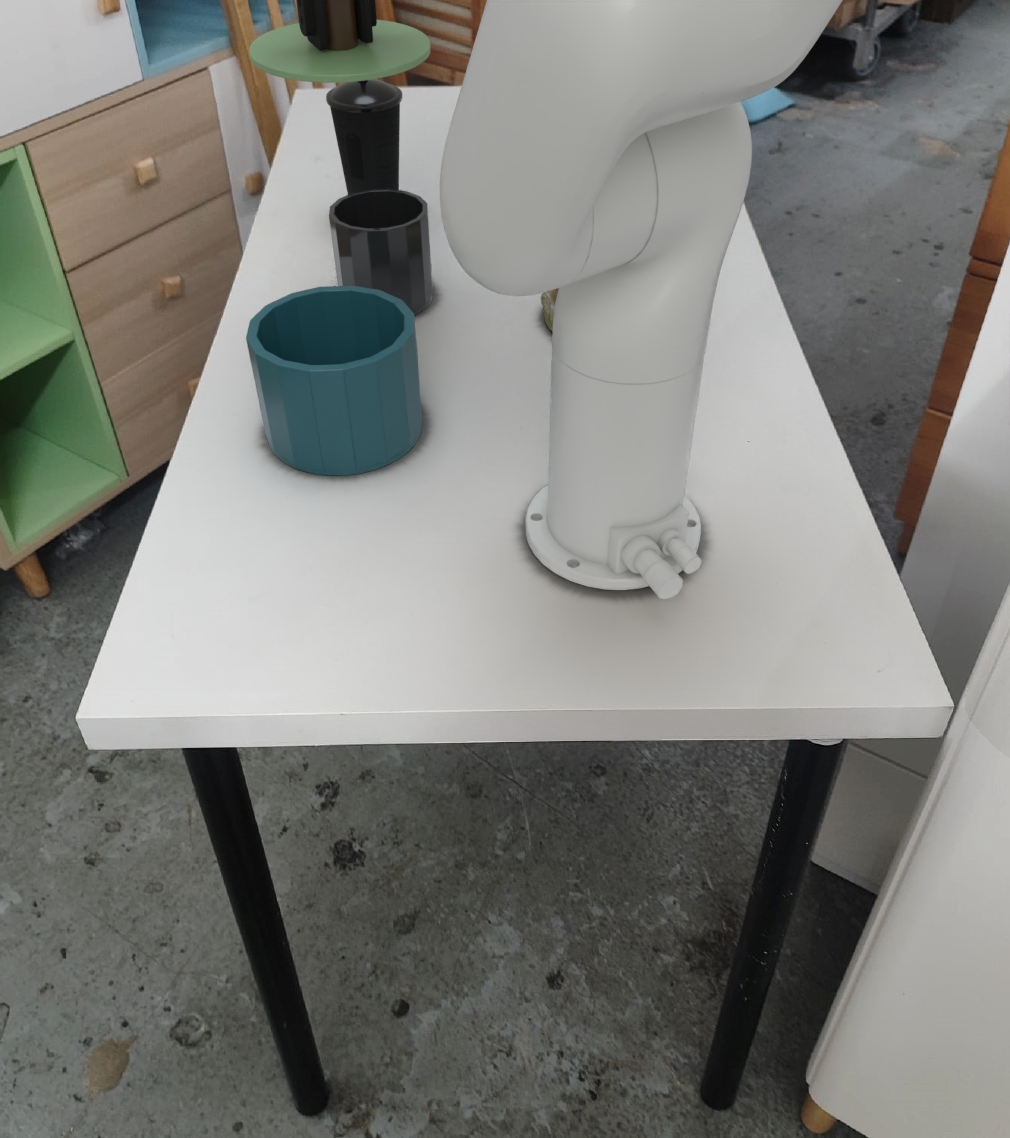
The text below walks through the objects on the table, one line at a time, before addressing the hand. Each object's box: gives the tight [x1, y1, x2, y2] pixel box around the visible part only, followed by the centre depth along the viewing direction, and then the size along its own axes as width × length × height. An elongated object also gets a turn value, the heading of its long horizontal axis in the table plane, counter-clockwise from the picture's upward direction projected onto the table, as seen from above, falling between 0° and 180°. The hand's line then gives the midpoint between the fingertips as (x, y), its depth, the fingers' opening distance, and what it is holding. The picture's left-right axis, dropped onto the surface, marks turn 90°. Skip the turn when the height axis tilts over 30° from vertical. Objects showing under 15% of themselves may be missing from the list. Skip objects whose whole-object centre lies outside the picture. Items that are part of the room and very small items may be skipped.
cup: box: [328, 189, 434, 316], centre depth 97 cm, size 9×9×9 cm
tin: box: [245, 285, 423, 477], centre depth 81 cm, size 13×13×10 cm
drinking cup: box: [325, 79, 403, 195], centre depth 105 cm, size 8×8×20 cm
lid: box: [248, 0, 432, 84], centre depth 76 cm, size 14×14×6 cm
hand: (340, 39), depth 77 cm, fingers closed on lid, 2 cm apart
